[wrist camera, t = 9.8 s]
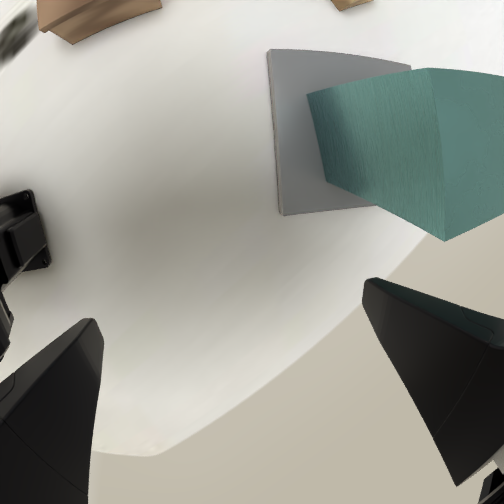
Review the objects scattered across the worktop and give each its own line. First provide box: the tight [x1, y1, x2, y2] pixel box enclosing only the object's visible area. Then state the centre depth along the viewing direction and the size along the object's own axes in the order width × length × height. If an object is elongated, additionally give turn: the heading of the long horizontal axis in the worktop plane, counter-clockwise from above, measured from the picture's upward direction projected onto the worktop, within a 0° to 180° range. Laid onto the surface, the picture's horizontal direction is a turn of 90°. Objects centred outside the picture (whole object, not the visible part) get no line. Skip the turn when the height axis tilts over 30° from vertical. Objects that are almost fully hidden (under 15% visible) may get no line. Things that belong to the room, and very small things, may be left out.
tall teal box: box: [306, 68, 504, 242], centre depth 14 cm, size 6×6×12 cm
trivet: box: [267, 49, 411, 216], centre depth 20 cm, size 12×12×1 cm
